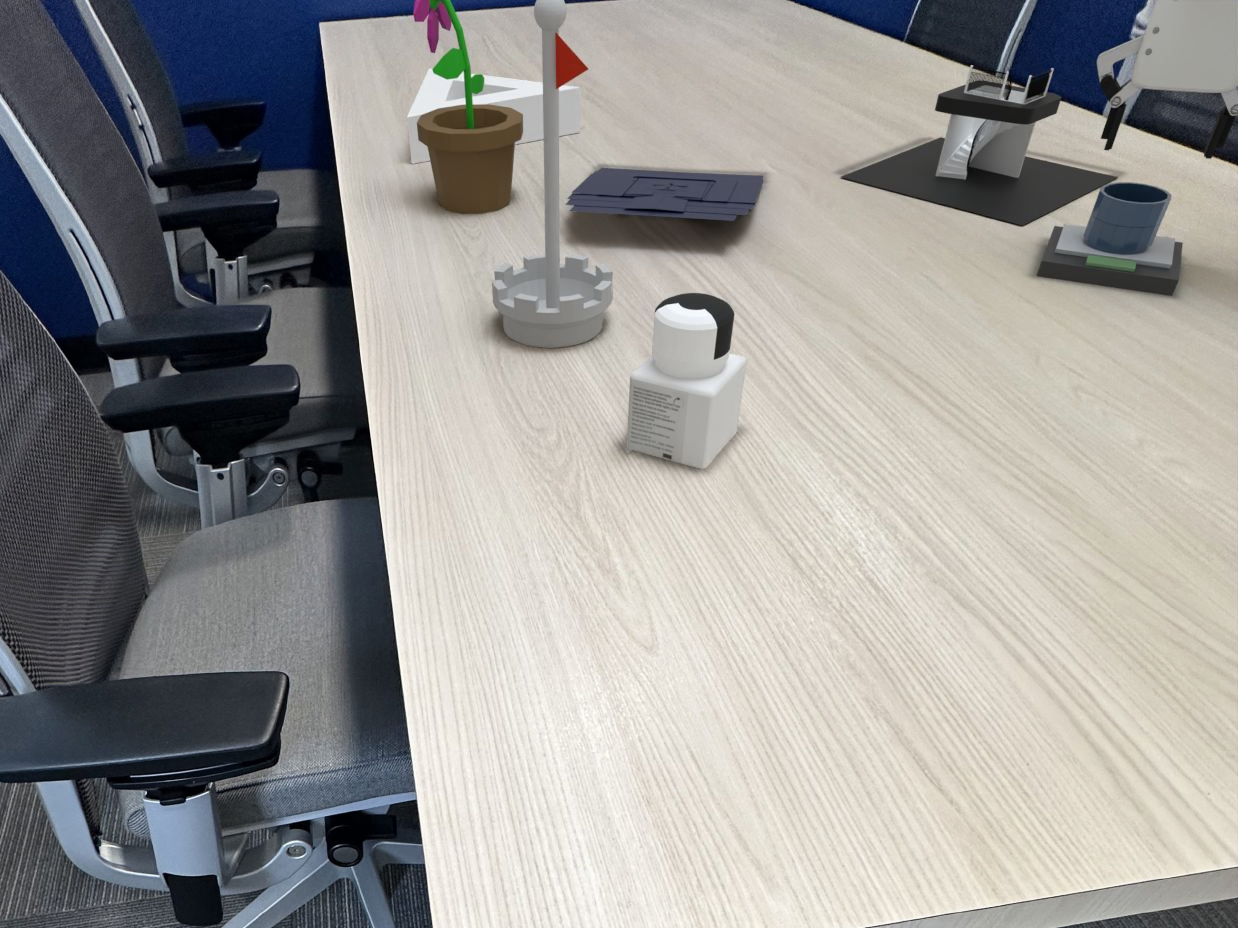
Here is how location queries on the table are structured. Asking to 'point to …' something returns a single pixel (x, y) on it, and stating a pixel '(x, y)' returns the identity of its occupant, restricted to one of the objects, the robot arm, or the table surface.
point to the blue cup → (1126, 217)
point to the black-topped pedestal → (987, 155)
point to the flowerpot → (466, 129)
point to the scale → (1112, 263)
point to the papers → (667, 194)
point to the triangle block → (495, 92)
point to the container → (687, 383)
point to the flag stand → (553, 230)
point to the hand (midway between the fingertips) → (1157, 151)
